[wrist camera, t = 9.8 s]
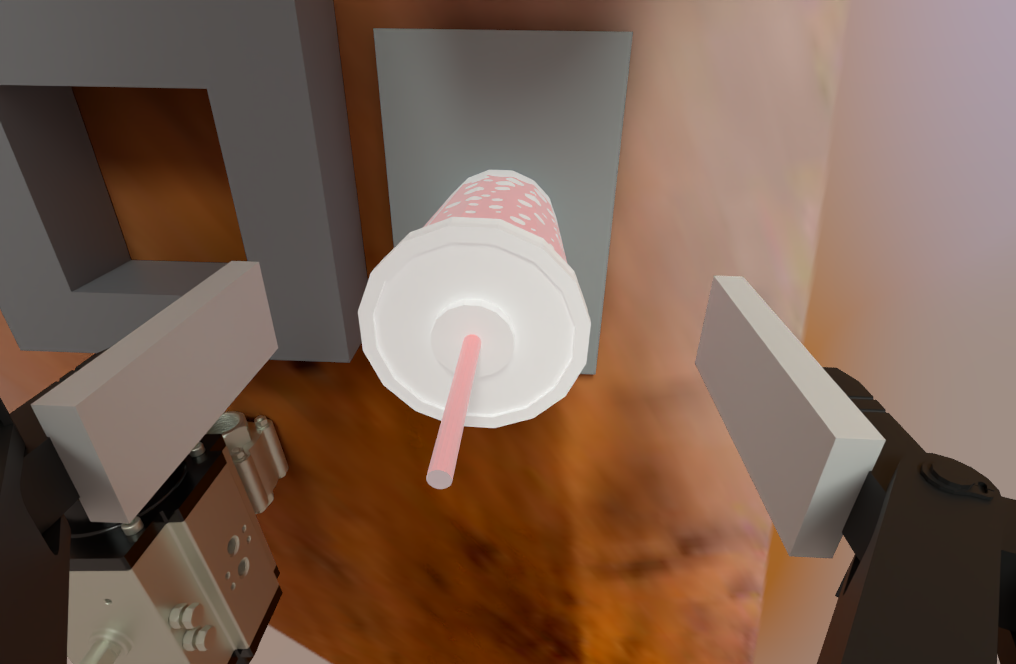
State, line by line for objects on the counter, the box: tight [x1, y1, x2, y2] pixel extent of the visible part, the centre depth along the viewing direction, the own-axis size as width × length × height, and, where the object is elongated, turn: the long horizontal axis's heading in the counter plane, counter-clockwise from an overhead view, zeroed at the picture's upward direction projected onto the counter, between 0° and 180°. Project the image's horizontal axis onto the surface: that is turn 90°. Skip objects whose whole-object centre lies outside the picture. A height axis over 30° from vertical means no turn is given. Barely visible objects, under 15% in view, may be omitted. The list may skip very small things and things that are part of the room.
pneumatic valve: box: [64, 411, 289, 664], centre depth 24 cm, size 6×12×12 cm, turn 4°
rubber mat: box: [373, 28, 633, 374], centre depth 22 cm, size 14×9×1 cm, turn 179°
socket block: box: [0, 0, 368, 363], centre depth 20 cm, size 13×14×4 cm
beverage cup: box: [358, 170, 591, 489], centre depth 16 cm, size 6×6×14 cm
